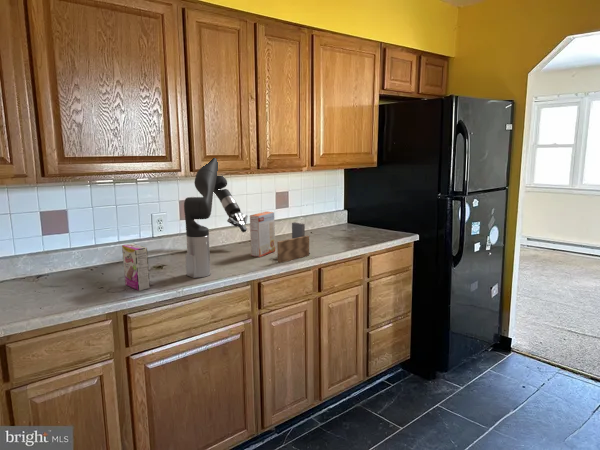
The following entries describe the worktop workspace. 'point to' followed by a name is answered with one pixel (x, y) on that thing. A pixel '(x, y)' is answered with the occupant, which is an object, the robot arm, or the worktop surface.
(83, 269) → the worktop surface
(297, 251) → the shelf wall
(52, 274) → the worktop surface
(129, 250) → the candy bar box
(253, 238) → the cracker box
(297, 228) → the bookend
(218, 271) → the worktop surface
